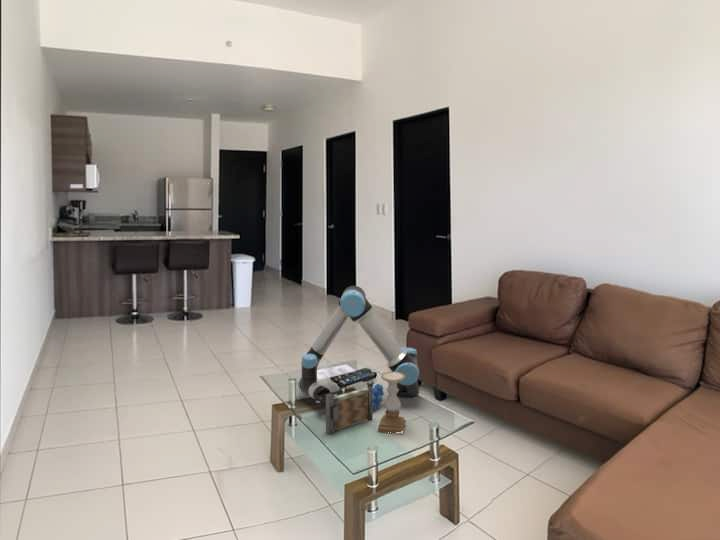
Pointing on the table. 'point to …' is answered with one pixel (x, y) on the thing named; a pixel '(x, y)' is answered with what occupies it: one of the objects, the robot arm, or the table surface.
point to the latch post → (331, 413)
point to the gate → (351, 408)
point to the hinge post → (370, 400)
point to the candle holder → (392, 405)
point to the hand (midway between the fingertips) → (347, 410)
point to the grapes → (377, 396)
